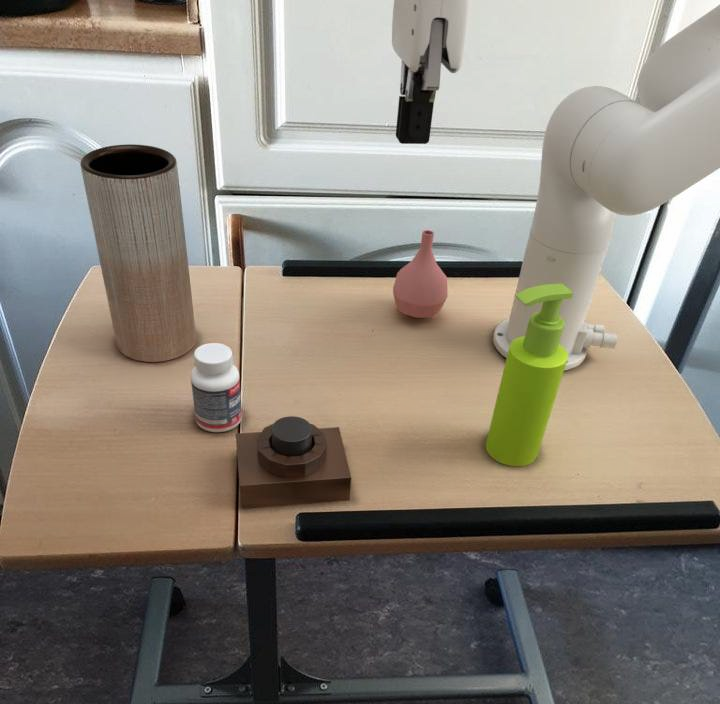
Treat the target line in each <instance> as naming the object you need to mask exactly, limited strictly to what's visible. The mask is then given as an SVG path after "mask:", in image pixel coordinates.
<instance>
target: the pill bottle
mask: <svg viewBox="0 0 720 704" xmlns="http://www.w3.org/2000/svg"><path fill="white" fill-rule="evenodd" d="M193 352H194V353H193V359H194V365H195V366H194V367H193V368H192V370H191V373H190V384H191V393H192V399H193V400H192V401H193V409H194V410H193V411H194V419H195V423H196V425H198V427H199V428H201V429H202V430H205V431H207V432H211V433H225V432H227V431H231V430H233V429H235V428H236V427H237V426H239V424H240V423H241V422H242V418H243V410H242V396H241V392H242V391H241V377H240V372H239V369H238V368H237V367H236V365H235V364H234V358H233V351H232V349H231V348H230V347H229V346H228V345H226V344H224V343H219V342H209V343H205V344H201V345H199V346H198V347H196V349H195V350H194V351H193Z"/></svg>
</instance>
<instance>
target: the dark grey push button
mask: <svg viewBox="0 0 720 704" xmlns="http://www.w3.org/2000/svg"><path fill="white" fill-rule="evenodd" d="M272 424H273V426H272V447H273V449H274V450H275V451H276V452H277V453H278V454H280V455H284V456H287V457H292V456H302V455H304V454H306V453H307V452H308V451H309V450H310V449H311V446H312V426H311V424H312V423H310V422H309V421H308V420H307V419H305V418H303V417H299V416H296V415H295V416H294V415H292V416H291V415H290V416H283V417H280V418H279V419H277V420H276V421H274V423H272Z"/></svg>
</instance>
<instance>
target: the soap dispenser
mask: <svg viewBox="0 0 720 704" xmlns="http://www.w3.org/2000/svg"><path fill="white" fill-rule="evenodd" d="M515 293H516V292H515ZM515 293H514V297H515V296H516V297H517V298H518V299H519V300H520V301H521V302H522V303H523V304H524V305H526V306H527V307H529V306H531V305H534V304H537V303H540V302H543V304H542V308H541V312H536V313H534V314H532V315H531V317H530V319H529V323H528V327H527V331H526V335H525V336H523V337H519V338H516V339H515V340H513V341H512V342H511V344H510V347H509V351H508V355H507V358H506V359H505V364H504V367H503V371H502V376H501V380H500V384H499V388H498V391H497V397H496V400H495V403H494V408H493V412H492V418H491V421H490V425H489V429H488V432H487V433H488V434H487V437H486V442H485V449H486V452H487V454H489V456H490V457H491V458H492V459H493V460H495V461H496V462H497V463H500V464H503V465H505V466H509V467H526V466H529V465H531V464H532V463H534V462H535V461H536V460H537V458H538V455H539V452H540V448H541V445H542V442H543V438H544V436H545V432H546V430H547V426H548V422H549V420H550V418H551V414H552V410H553V407H554V405H555V400H556V397H557V395H558V391H559V388H560V385H561V381H562V378H563V376H564V372H565V371H564V369H565V366H566V363H567V359H568V354H567V351H566V350H565V349H564V347H563V346H561V345H560V344H559V341H560V338H561V335H562V331H563V328H564V321H563V319H562V318H561V317H559V316H558V314H559V310H560V307H561V303H562V300H563V299H569V298H572V296H573V292H572V291H570V290H569V289H568V288H567V287H565V286H564V285H563V284H548V285H540V286H535V287H531V288H528V289H525V290H523V291H520V292H518V293H516V294H515Z"/></svg>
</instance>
